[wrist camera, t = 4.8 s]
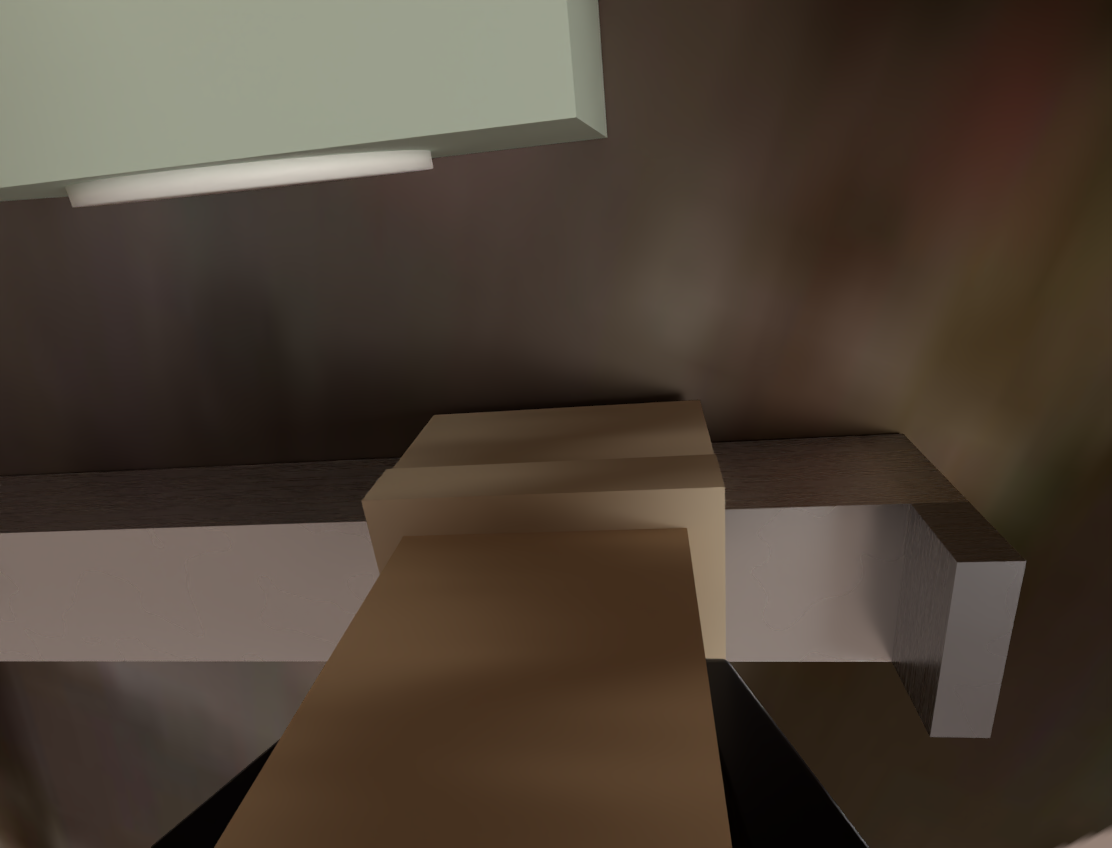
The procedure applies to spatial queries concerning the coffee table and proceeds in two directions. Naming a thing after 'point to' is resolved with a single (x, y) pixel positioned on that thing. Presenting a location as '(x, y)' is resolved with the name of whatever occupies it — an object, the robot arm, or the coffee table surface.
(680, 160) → the coffee table surface
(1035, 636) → the coffee table surface
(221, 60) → the cabinet
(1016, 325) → the coffee table surface
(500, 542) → the carriage
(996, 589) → the rail
